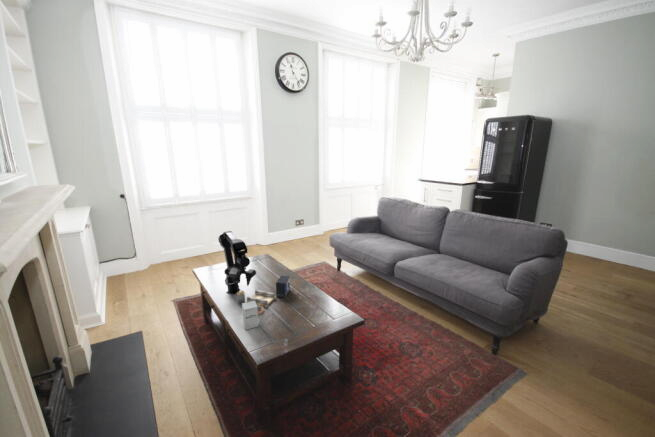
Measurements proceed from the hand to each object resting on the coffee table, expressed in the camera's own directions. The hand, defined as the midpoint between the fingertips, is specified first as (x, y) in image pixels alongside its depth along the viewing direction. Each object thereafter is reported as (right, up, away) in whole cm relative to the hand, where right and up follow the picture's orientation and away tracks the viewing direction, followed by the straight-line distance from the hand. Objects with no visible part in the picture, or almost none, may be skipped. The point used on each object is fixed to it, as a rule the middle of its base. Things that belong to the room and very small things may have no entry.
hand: (241, 284), depth 184 cm
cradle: (+11, -12, +6) cm, 17 cm away
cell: (-1, -13, +3) cm, 13 cm away
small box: (+24, -9, +15) cm, 30 cm away
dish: (+11, -15, -5) cm, 19 cm away
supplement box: (+11, -19, -18) cm, 28 cm away
